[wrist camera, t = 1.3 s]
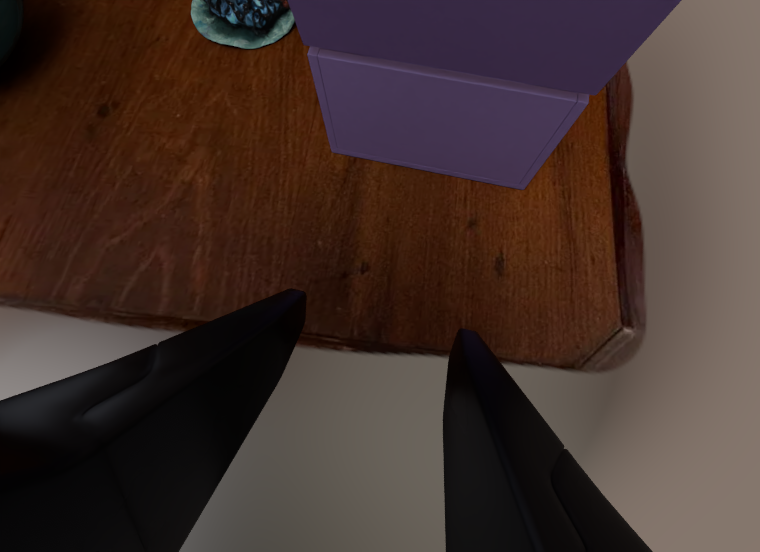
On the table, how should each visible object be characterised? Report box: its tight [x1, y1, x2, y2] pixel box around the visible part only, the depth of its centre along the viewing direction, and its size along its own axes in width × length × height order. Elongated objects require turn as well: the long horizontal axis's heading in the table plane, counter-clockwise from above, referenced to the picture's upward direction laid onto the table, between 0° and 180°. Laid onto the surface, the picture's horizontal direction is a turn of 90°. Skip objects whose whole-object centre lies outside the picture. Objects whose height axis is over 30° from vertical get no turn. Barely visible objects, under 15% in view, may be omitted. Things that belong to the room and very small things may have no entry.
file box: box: [307, 46, 589, 190], centre depth 21 cm, size 15×13×8 cm
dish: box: [191, 0, 295, 49], centre depth 27 cm, size 8×7×8 cm
